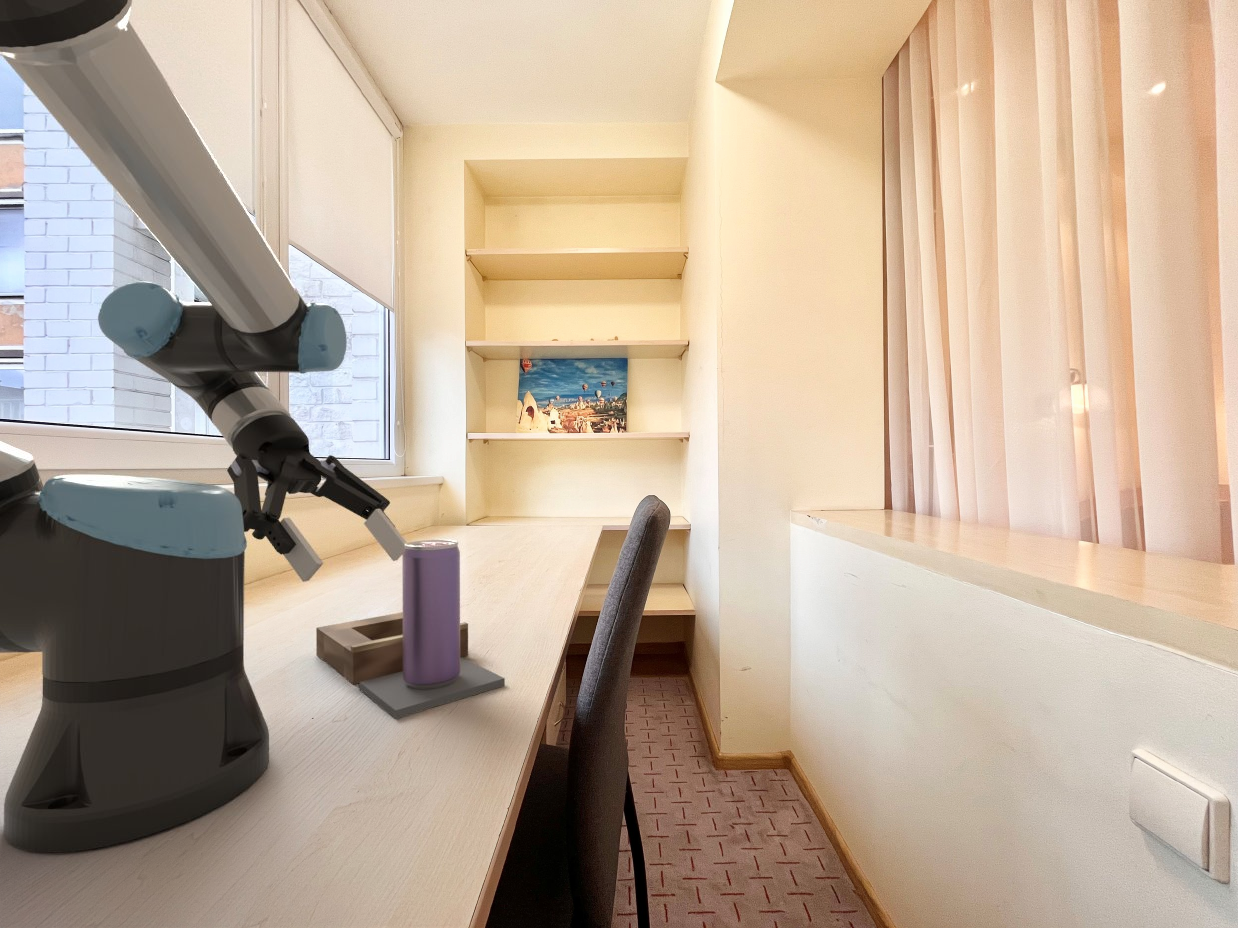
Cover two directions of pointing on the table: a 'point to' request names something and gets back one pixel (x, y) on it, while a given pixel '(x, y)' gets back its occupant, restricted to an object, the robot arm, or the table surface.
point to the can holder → (368, 646)
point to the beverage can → (431, 613)
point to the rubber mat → (428, 690)
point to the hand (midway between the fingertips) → (362, 562)
